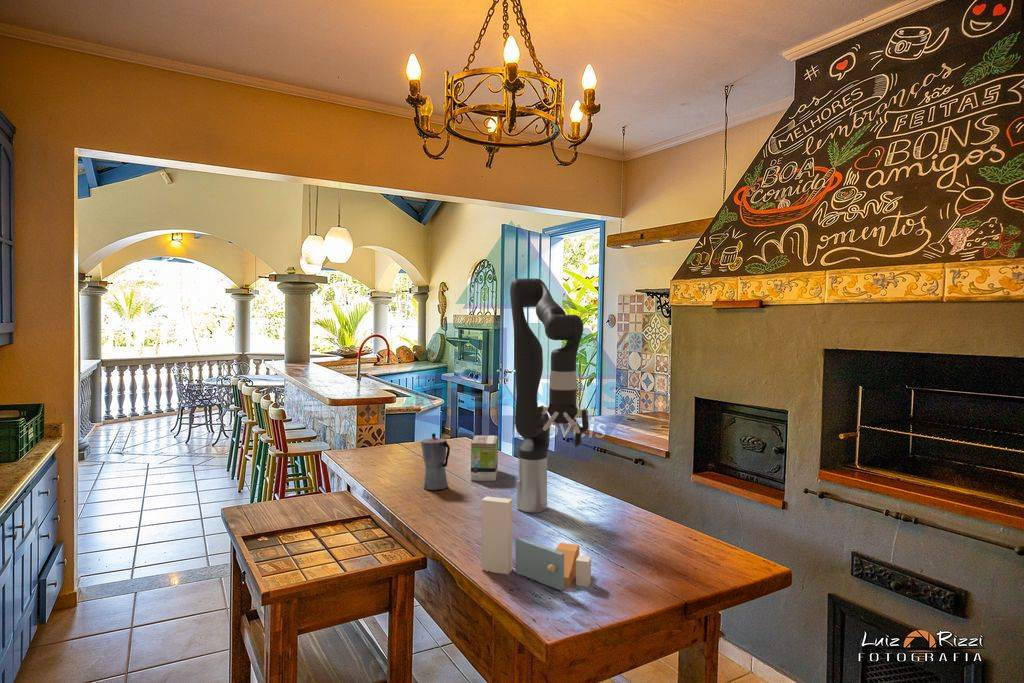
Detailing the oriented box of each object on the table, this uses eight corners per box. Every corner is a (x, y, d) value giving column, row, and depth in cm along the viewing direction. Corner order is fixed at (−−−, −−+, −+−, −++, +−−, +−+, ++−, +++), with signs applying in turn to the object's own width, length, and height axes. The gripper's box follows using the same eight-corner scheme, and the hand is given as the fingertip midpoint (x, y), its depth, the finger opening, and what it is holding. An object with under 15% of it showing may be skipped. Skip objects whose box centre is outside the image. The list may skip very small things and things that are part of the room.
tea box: (496, 481, 220) (496, 443, 219) (470, 481, 220) (469, 443, 219) (498, 470, 235) (498, 434, 234) (473, 470, 235) (473, 434, 234)
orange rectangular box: (568, 588, 135) (568, 563, 135) (548, 584, 137) (547, 560, 137) (579, 568, 146) (579, 545, 145) (560, 565, 147) (560, 542, 147)
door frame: (482, 570, 145) (481, 500, 144) (486, 565, 148) (486, 496, 147) (588, 586, 136) (588, 511, 135) (590, 581, 139) (591, 507, 138)
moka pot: (432, 480, 221) (431, 429, 220) (460, 488, 211) (460, 434, 210) (413, 486, 213) (412, 433, 212) (441, 495, 204) (441, 439, 203)
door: (511, 574, 141) (511, 540, 141) (518, 570, 143) (518, 537, 143) (557, 592, 132) (557, 556, 132) (564, 588, 134) (564, 553, 133)
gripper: (534, 387, 158) (533, 445, 159) (585, 390, 154) (584, 450, 155) (542, 383, 165) (541, 439, 166) (591, 386, 161) (590, 444, 162)
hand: (562, 444), depth 160 cm, fingers open, 8 cm apart
